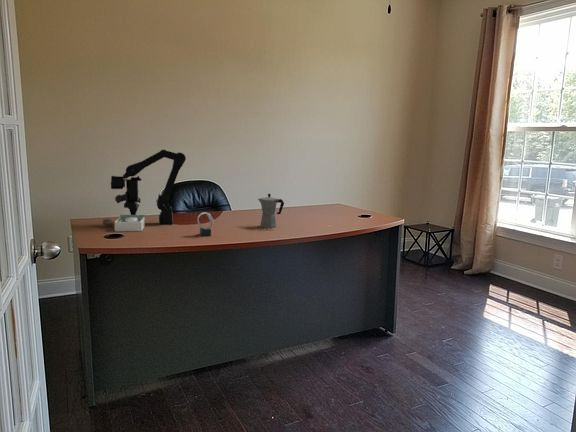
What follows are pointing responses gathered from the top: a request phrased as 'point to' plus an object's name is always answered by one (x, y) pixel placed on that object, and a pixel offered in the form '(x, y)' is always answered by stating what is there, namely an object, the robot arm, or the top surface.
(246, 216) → the top surface
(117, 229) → the shallow white bin
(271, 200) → the coffeepot
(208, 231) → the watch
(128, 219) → the dome
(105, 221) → the stand
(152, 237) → the top surface
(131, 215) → the drawer
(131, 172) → the robot arm
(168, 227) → the top surface
